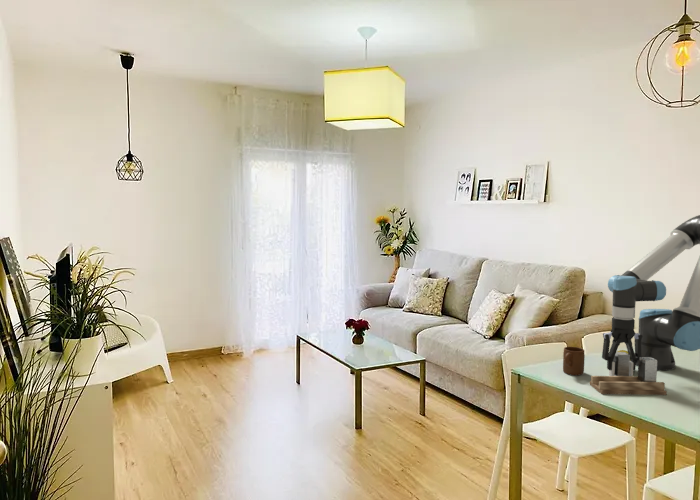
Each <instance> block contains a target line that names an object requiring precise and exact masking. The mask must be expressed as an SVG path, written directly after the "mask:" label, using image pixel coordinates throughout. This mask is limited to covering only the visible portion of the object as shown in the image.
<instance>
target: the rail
mask: <svg viewBox="0 0 700 500" xmlns="http://www.w3.org/2000/svg"><path fill="white" fill-rule="evenodd" d="M590 379H591V380H589V384H590V386H591V387H592V388H593V389H594V390H596V391H597V392H598V393H600V395H631V396H632V395H633V396H634V395H643V396H644V395H647V396H649V395H651V396H652V395H653V396H656V395H657V396H658V395H659V396H667V393H668V392H667V390H665V389H666V388H665V385H666V384H665V383H666V382H664V381H656V382H639V380H638V375H635V376H634V375H633V376H609V375H591V376H590Z"/></svg>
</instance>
